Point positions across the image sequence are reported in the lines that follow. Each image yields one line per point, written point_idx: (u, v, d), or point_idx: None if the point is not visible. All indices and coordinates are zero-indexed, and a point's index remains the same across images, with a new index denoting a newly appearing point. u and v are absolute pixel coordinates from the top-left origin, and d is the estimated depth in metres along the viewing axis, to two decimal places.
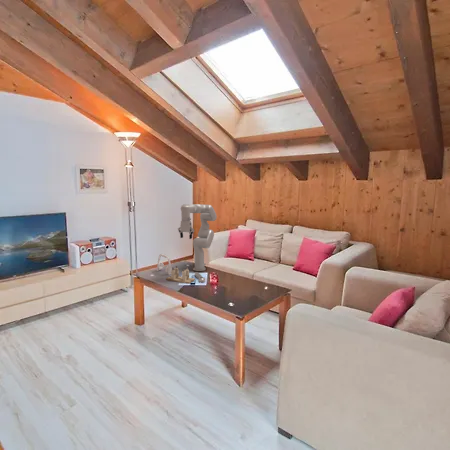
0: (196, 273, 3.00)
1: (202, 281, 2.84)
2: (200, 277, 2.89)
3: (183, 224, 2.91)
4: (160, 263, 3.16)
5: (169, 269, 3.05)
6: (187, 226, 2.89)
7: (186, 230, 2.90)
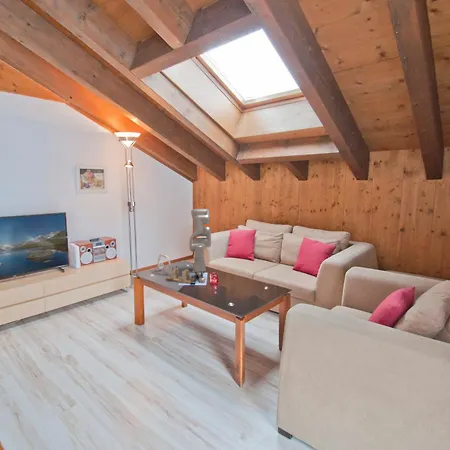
0: None
1: (202, 281, 2.84)
2: (200, 277, 2.89)
3: None
4: (160, 263, 3.16)
5: (169, 269, 3.05)
6: None
7: None
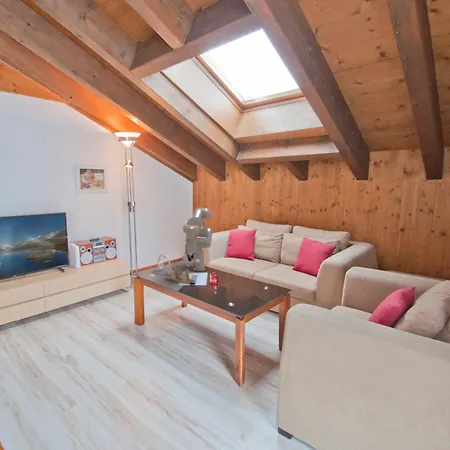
0: (184, 256, 2.94)
1: (198, 262, 2.82)
2: (193, 259, 2.85)
3: None
4: (160, 263, 3.16)
5: (169, 269, 3.05)
6: None
7: None
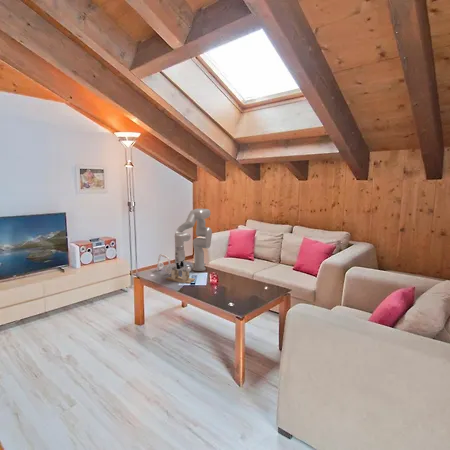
0: (172, 265, 2.91)
1: (190, 270, 2.84)
2: (184, 267, 2.86)
3: None
4: (160, 263, 3.16)
5: (169, 269, 3.05)
6: None
7: None
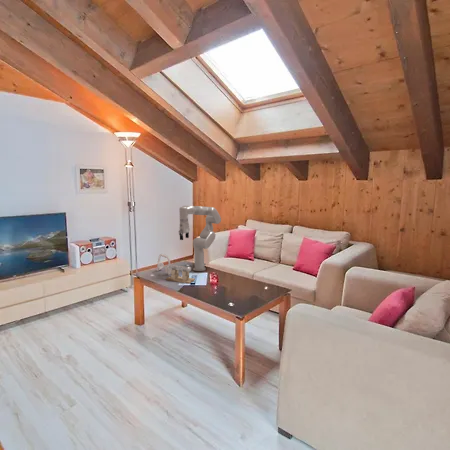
0: (172, 265, 2.91)
1: (190, 270, 2.84)
2: (184, 267, 2.86)
3: None
4: (160, 263, 3.16)
5: (169, 269, 3.05)
6: None
7: None
